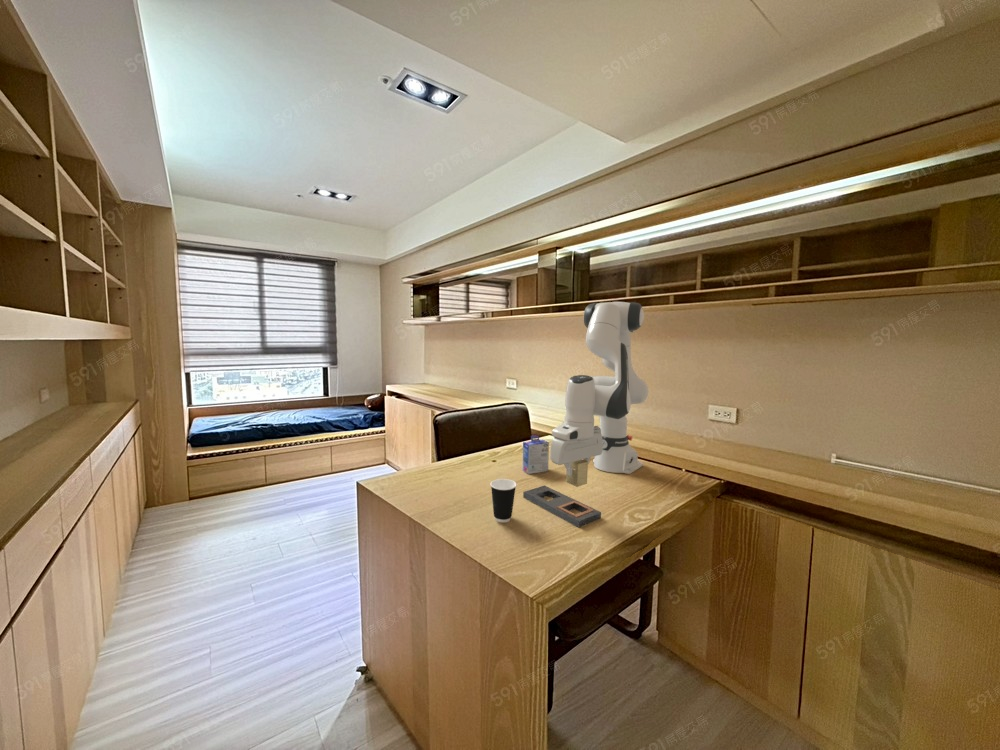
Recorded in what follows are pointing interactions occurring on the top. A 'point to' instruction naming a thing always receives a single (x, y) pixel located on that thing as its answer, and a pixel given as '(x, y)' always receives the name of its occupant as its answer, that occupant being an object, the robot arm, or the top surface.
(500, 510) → the dixie cup
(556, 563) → the top surface
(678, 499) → the top surface
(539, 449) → the ink cartridge box
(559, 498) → the grey peg board
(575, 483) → the tan wooden block
